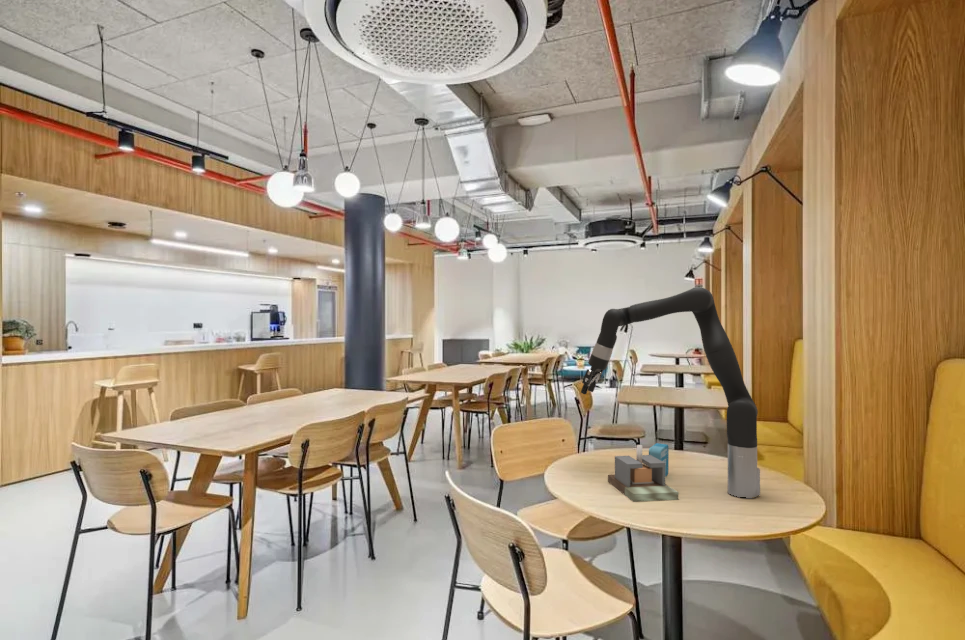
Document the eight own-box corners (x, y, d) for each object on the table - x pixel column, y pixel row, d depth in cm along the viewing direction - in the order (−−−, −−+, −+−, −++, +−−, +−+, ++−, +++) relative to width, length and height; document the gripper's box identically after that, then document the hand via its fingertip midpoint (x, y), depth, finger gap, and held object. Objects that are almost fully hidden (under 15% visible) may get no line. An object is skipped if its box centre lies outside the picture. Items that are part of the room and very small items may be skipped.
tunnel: (650, 476, 187) (650, 454, 187) (665, 485, 176) (665, 462, 176) (614, 477, 185) (614, 456, 185) (627, 487, 174) (627, 464, 174)
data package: (660, 481, 189) (660, 450, 189) (648, 479, 191) (648, 448, 191) (668, 474, 199) (668, 443, 199) (656, 472, 201) (657, 442, 201)
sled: (645, 478, 184) (646, 443, 184) (653, 483, 178) (653, 447, 178) (625, 479, 183) (625, 443, 183) (632, 484, 177) (632, 447, 177)
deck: (647, 479, 191) (647, 473, 191) (678, 499, 169) (678, 492, 169) (607, 481, 189) (607, 474, 189) (633, 501, 167) (633, 494, 167)
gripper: (603, 360, 194) (589, 398, 197) (614, 358, 206) (600, 394, 209) (586, 353, 198) (572, 390, 201) (598, 351, 210) (584, 386, 213)
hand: (586, 392), depth 205 cm, fingers open, 8 cm apart
